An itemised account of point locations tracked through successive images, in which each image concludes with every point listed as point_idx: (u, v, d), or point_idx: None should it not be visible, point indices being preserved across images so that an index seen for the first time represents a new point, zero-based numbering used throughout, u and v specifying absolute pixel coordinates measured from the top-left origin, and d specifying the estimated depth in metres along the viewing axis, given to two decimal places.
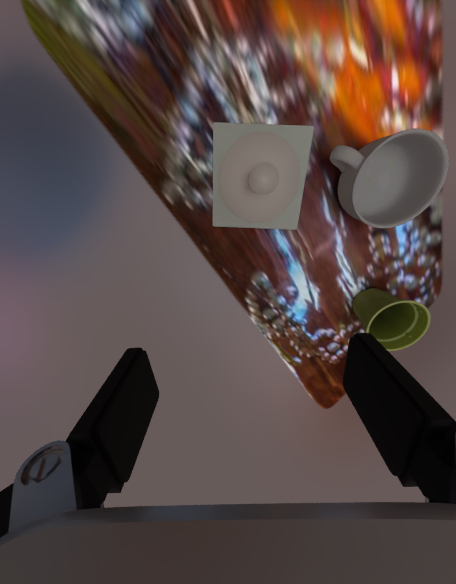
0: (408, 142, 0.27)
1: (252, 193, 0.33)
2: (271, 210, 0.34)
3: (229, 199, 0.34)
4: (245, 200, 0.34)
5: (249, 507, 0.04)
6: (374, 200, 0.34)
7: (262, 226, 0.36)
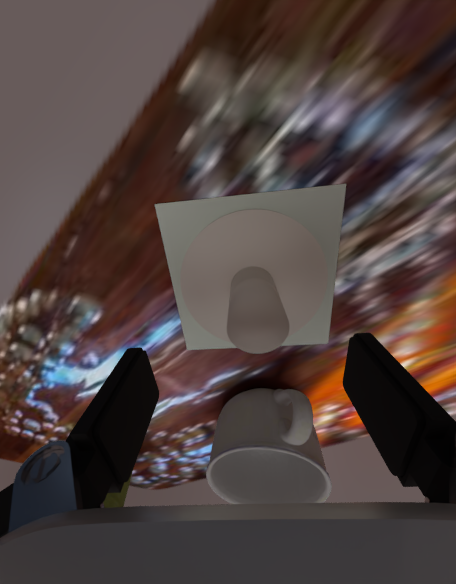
0: None
1: (229, 278, 0.18)
2: (207, 313, 0.19)
3: (212, 237, 0.16)
4: (215, 269, 0.17)
5: (249, 507, 0.04)
6: None
7: (179, 300, 0.20)
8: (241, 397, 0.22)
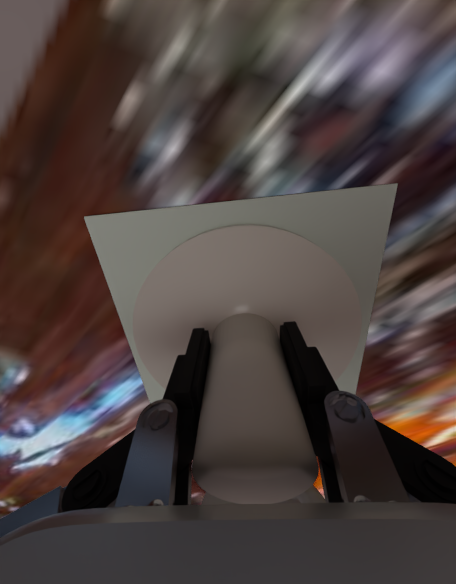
0: None
1: (209, 331, 0.11)
2: None
3: (178, 270, 0.10)
4: (186, 317, 0.11)
5: (249, 507, 0.04)
6: None
7: (137, 355, 0.14)
8: None
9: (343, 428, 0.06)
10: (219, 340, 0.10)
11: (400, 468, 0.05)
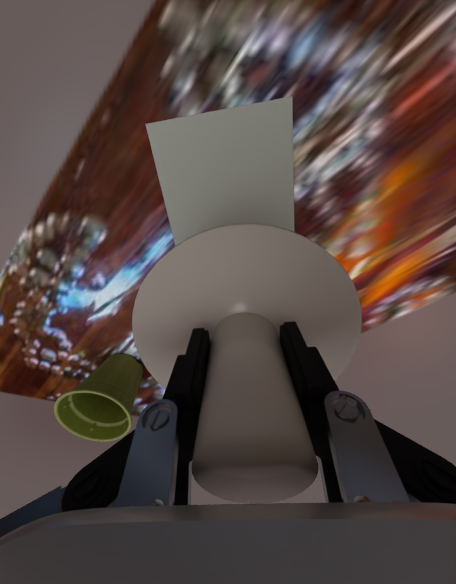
0: None
1: (209, 330, 0.11)
2: None
3: (178, 269, 0.10)
4: (186, 316, 0.11)
5: (249, 507, 0.04)
6: None
7: (169, 213, 0.25)
8: None
9: (343, 428, 0.06)
10: (219, 339, 0.10)
11: (400, 468, 0.05)
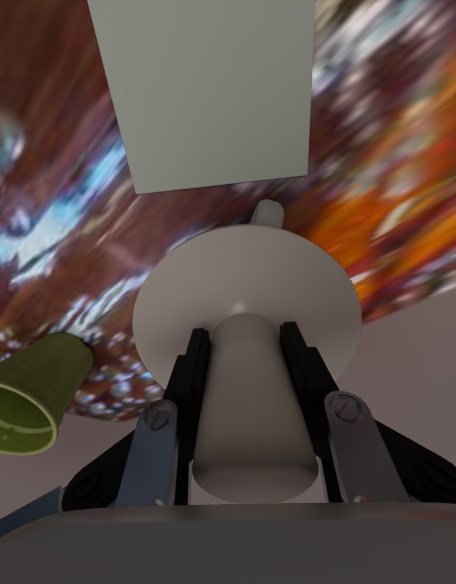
0: None
1: (209, 331, 0.11)
2: None
3: (178, 270, 0.10)
4: (186, 317, 0.11)
5: (249, 507, 0.04)
6: None
7: (118, 107, 0.16)
8: None
9: (343, 428, 0.06)
10: (219, 340, 0.10)
11: (400, 468, 0.05)
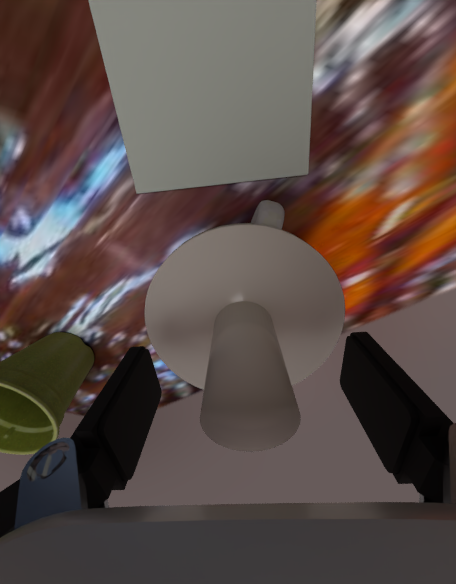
0: None
1: (212, 317, 0.13)
2: (183, 359, 0.14)
3: (186, 262, 0.12)
4: (192, 304, 0.13)
5: (249, 507, 0.04)
6: None
7: (119, 106, 0.16)
8: None
9: None
10: (221, 323, 0.11)
11: None
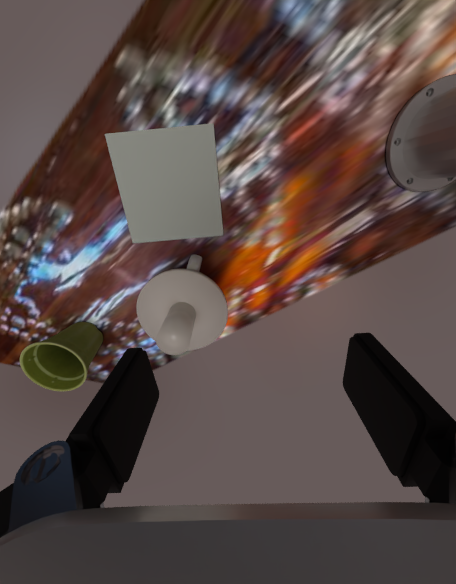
0: None
1: (168, 309, 0.29)
2: (155, 330, 0.30)
3: (155, 285, 0.27)
4: (158, 303, 0.28)
5: (249, 507, 0.04)
6: None
7: (124, 203, 0.31)
8: None
9: None
10: (169, 311, 0.27)
11: None
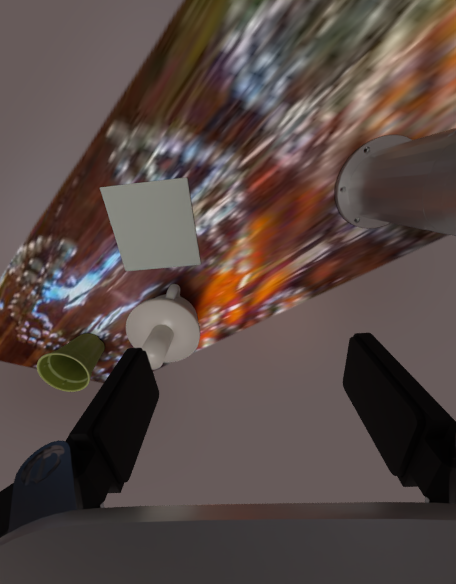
0: None
1: (150, 330, 0.35)
2: (142, 346, 0.37)
3: (139, 312, 0.34)
4: (143, 325, 0.35)
5: (249, 507, 0.04)
6: None
7: (117, 239, 0.38)
8: None
9: None
10: (150, 332, 0.34)
11: None
